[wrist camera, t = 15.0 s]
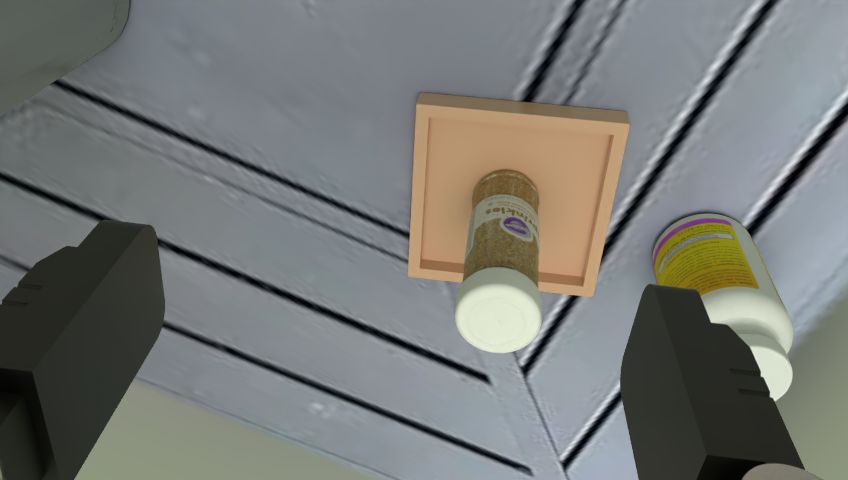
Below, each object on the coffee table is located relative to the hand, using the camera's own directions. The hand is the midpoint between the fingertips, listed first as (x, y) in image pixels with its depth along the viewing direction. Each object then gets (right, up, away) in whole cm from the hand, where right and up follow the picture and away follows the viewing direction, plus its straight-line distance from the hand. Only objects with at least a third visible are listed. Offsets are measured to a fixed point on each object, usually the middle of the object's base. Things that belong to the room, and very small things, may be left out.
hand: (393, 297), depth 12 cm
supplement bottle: (+20, 0, +39) cm, 44 cm away
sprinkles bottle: (+6, +4, +38) cm, 39 cm away
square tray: (+6, +4, +38) cm, 39 cm away
